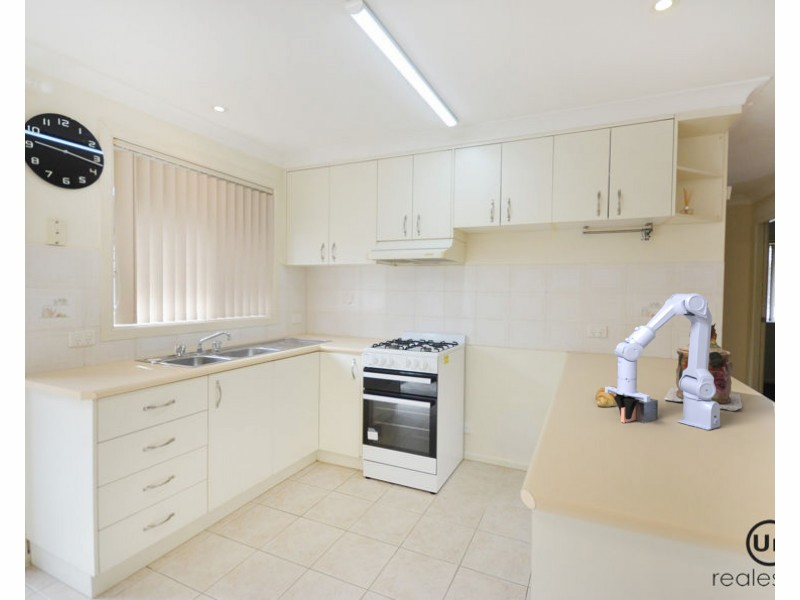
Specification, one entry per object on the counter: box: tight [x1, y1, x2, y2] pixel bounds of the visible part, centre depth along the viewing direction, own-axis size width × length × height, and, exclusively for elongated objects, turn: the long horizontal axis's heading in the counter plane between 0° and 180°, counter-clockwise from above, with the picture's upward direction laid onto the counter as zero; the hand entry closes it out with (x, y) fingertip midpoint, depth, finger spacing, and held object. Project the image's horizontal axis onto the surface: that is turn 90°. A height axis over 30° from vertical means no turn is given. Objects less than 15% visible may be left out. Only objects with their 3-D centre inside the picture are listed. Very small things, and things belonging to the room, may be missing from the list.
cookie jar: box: [664, 323, 743, 412], centre depth 164 cm, size 25×25×32 cm
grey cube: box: [636, 397, 659, 424], centre depth 140 cm, size 7×8×7 cm
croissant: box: [595, 385, 618, 408], centre depth 160 cm, size 21×10×8 cm, turn 135°
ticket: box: [620, 405, 637, 424], centre depth 138 cm, size 1×13×5 cm, turn 119°
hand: (626, 418), depth 136 cm, fingers closed, pressing on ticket
